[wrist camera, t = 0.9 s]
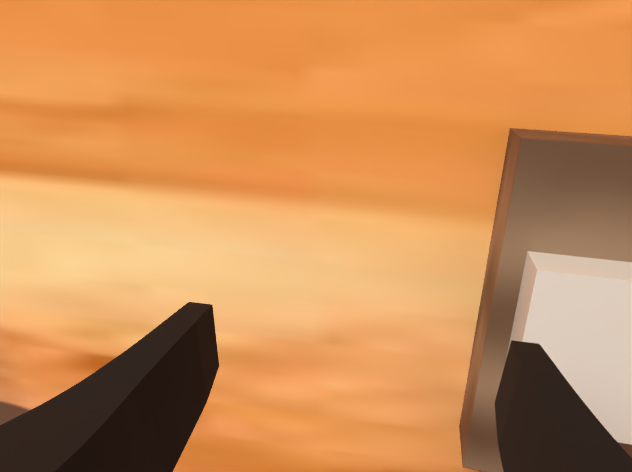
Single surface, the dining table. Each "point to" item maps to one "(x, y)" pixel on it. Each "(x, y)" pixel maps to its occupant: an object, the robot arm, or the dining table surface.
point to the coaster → (583, 329)
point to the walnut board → (541, 250)
